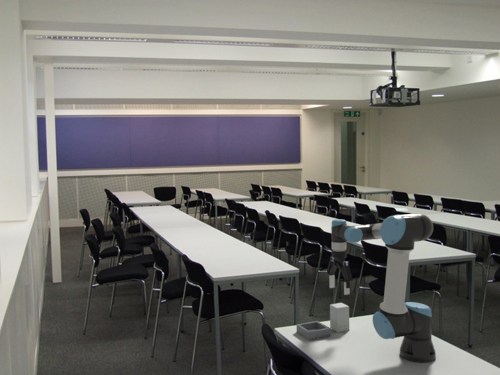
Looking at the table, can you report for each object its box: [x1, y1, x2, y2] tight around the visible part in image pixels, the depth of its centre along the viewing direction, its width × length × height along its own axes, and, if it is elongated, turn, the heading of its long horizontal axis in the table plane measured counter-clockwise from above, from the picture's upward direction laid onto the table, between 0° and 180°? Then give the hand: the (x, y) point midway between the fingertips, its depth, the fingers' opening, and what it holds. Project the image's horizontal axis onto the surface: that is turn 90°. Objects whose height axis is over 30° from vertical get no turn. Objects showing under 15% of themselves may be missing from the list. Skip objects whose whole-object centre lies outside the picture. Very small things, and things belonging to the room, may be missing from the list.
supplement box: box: [329, 302, 350, 333], centre depth 252 cm, size 7×7×13 cm
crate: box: [296, 320, 332, 341], centre depth 246 cm, size 12×12×4 cm
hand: (339, 290), depth 252 cm, fingers open, 13 cm apart
